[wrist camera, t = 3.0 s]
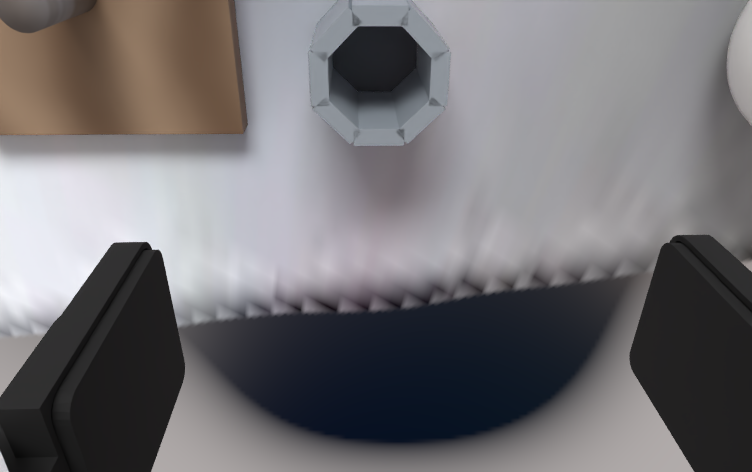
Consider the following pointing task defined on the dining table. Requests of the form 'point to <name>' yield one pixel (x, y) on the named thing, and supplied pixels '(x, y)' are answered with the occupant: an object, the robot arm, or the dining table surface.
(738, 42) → the lidded jar
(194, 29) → the roll stand
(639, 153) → the dining table surface
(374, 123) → the roll
